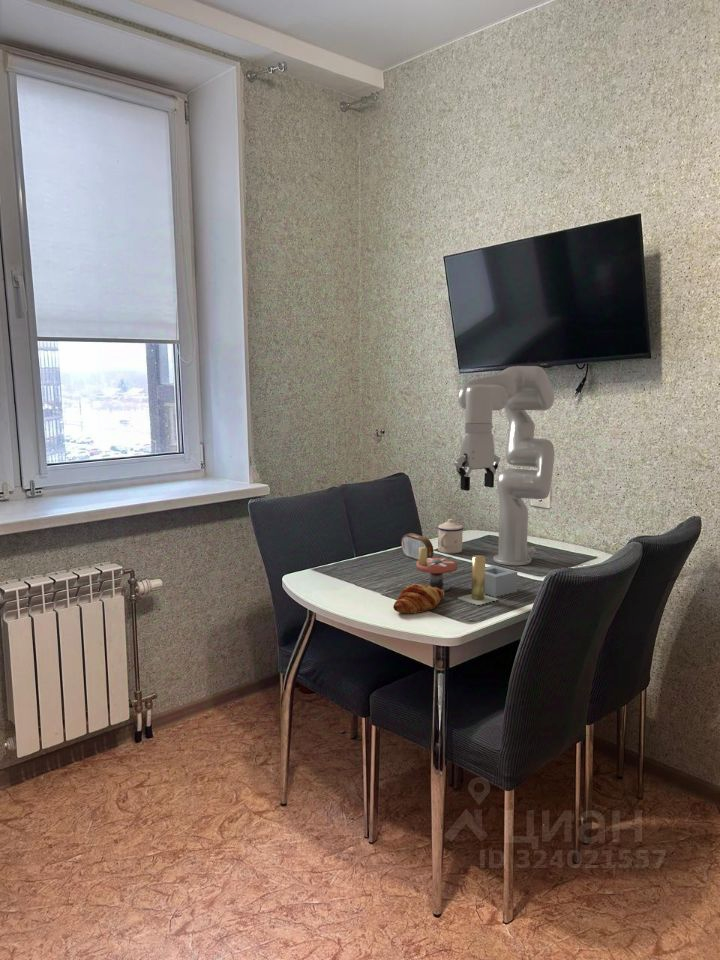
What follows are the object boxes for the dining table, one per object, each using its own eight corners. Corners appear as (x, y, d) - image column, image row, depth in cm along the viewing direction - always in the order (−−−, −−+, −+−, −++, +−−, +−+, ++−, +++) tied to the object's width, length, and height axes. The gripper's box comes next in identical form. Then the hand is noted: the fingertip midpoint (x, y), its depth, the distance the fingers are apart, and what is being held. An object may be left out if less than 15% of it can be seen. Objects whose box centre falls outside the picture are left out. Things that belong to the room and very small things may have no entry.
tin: (434, 563, 240) (434, 538, 238) (427, 564, 238) (427, 539, 237) (406, 554, 252) (406, 530, 251) (399, 555, 250) (399, 532, 249)
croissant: (434, 607, 204) (424, 581, 205) (460, 598, 197) (450, 571, 199) (387, 625, 188) (377, 596, 189) (414, 615, 181) (403, 586, 183)
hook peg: (477, 595, 202) (478, 554, 200) (487, 598, 199) (488, 557, 197) (468, 597, 200) (469, 556, 198) (478, 601, 197) (478, 559, 195)
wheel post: (437, 583, 216) (437, 563, 215) (455, 589, 209) (456, 569, 209) (417, 587, 211) (417, 568, 210) (435, 594, 205) (435, 574, 204)
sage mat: (477, 593, 205) (477, 592, 205) (498, 600, 199) (498, 599, 198) (457, 598, 200) (457, 597, 200) (478, 606, 194) (478, 604, 194)
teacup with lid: (444, 546, 262) (444, 515, 261) (466, 549, 257) (467, 518, 256) (429, 553, 252) (429, 521, 251) (452, 556, 247) (453, 524, 246)
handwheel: (416, 572, 204) (416, 550, 203) (416, 562, 216) (416, 541, 215) (458, 573, 203) (458, 551, 202) (456, 563, 215) (456, 542, 214)
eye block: (493, 584, 214) (494, 565, 213) (516, 591, 207) (517, 571, 206) (472, 590, 209) (473, 570, 208) (495, 597, 201) (495, 577, 201)
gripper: (489, 427, 210) (488, 484, 212) (447, 429, 200) (446, 489, 202) (509, 428, 204) (507, 487, 206) (465, 431, 194) (464, 493, 196)
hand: (477, 488), depth 204 cm, fingers open, 9 cm apart
